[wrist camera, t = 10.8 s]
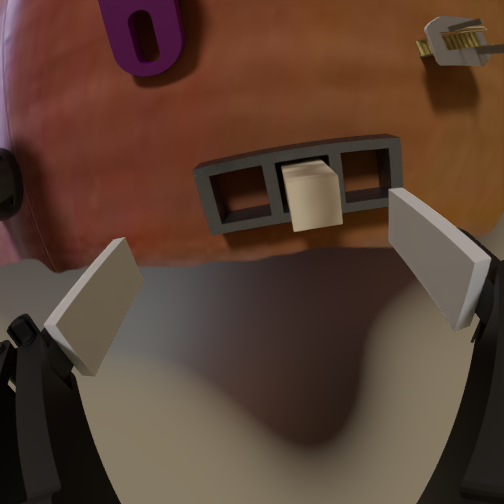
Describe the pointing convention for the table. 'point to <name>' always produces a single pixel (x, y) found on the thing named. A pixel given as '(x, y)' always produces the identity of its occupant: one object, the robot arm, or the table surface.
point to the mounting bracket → (126, 40)
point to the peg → (311, 193)
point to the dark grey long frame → (277, 209)
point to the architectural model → (457, 42)
